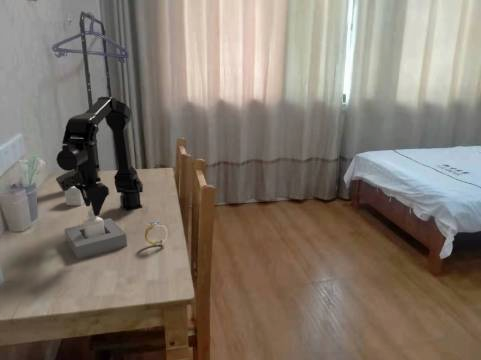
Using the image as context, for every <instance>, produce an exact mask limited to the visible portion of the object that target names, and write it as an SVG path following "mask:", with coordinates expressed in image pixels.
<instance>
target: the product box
mask: <svg viewBox="0 0 481 360" xmlns="http://www.w3.org/2000/svg"><path fill="white" fill-rule="evenodd" d="M64 197H65V202H66V206H82V205H85V202H84V200H83V197H82V195H81V192H80V190H79V189H77V188H76V187H75V186H73V187H71V188H69V190H67V191H64Z"/></svg>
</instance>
